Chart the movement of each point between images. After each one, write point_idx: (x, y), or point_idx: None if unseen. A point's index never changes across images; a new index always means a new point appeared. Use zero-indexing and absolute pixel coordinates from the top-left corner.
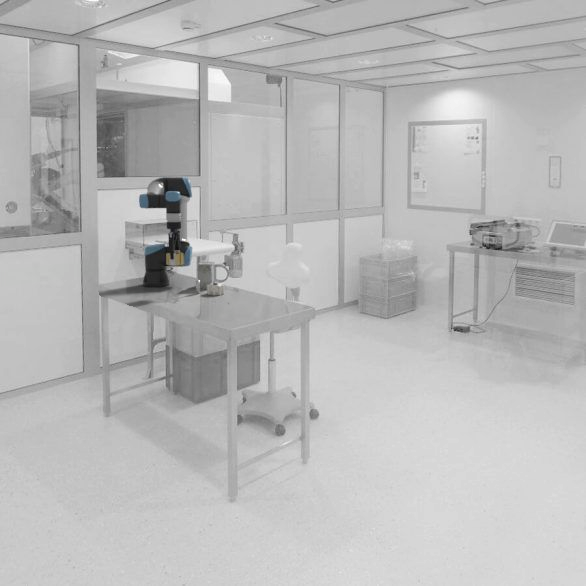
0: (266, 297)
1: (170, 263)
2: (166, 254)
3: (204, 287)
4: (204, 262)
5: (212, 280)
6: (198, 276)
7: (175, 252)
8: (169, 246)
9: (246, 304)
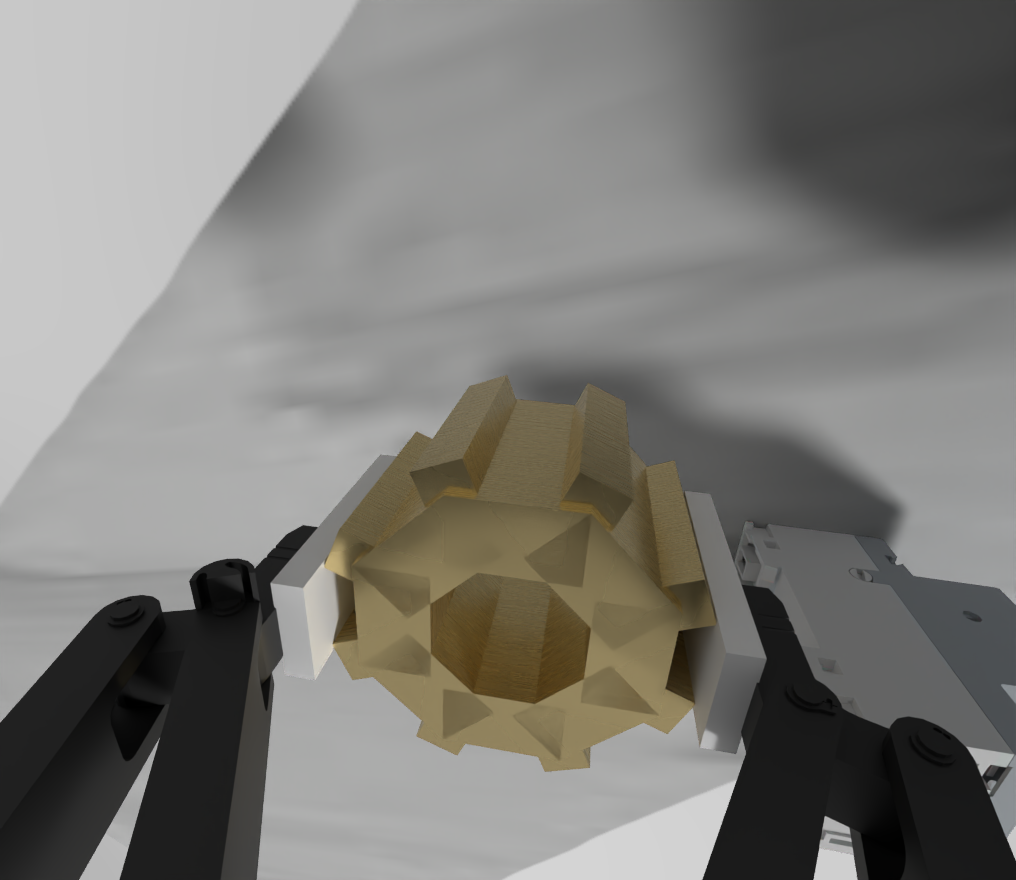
0: (515, 856)
1: (367, 477)
2: (414, 470)
3: (754, 584)
4: (995, 793)
5: None
6: (800, 609)
7: (615, 649)
8: (12, 744)
9: (328, 769)
